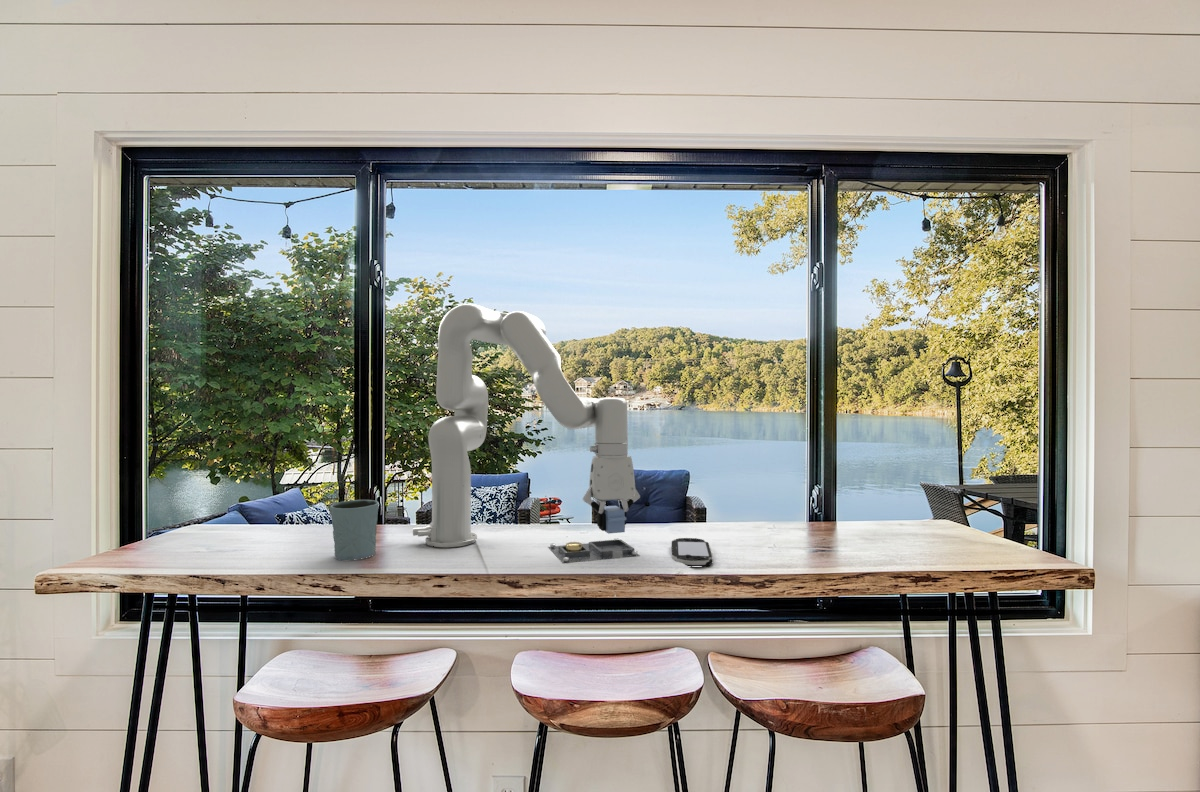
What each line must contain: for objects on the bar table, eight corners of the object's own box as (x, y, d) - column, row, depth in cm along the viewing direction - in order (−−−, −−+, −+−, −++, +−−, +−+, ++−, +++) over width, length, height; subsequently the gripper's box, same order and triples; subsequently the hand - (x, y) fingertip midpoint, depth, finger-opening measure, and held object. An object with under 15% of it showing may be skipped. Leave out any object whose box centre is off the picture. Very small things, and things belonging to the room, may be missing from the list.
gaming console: (671, 546, 141) (671, 535, 141) (707, 546, 140) (707, 536, 140) (671, 569, 122) (671, 557, 122) (714, 570, 121) (713, 558, 121)
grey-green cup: (386, 550, 134) (386, 500, 134) (364, 562, 124) (364, 508, 124) (345, 549, 135) (345, 499, 135) (320, 561, 125) (321, 507, 125)
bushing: (567, 555, 127) (567, 546, 127) (565, 551, 130) (565, 542, 130) (583, 554, 128) (583, 545, 128) (580, 550, 131) (580, 541, 131)
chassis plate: (562, 567, 121) (562, 558, 121) (547, 551, 134) (547, 542, 134) (640, 560, 127) (640, 551, 127) (618, 544, 140) (618, 536, 140)
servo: (610, 534, 127) (609, 512, 127) (598, 526, 135) (598, 505, 135) (626, 533, 129) (626, 511, 129) (613, 525, 136) (613, 504, 136)
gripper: (581, 453, 126) (582, 535, 126) (650, 450, 131) (651, 529, 131) (572, 450, 133) (572, 528, 133) (638, 447, 138) (638, 522, 138)
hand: (611, 528), depth 132 cm, fingers closed on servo, 4 cm apart
